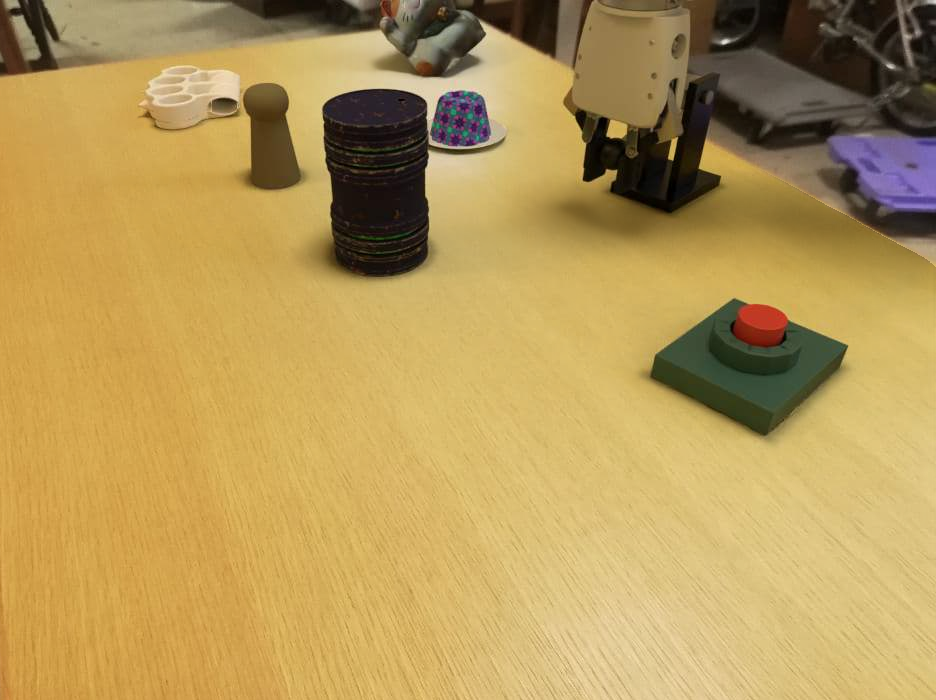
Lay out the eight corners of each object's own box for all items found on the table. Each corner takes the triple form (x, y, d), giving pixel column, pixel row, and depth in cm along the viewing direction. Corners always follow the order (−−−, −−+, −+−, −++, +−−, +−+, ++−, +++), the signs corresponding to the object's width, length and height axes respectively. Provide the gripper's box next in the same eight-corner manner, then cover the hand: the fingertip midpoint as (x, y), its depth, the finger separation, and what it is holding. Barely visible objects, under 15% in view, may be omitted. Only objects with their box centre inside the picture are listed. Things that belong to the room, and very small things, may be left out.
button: (767, 354, 60) (773, 335, 59) (723, 334, 62) (729, 316, 61) (790, 335, 61) (796, 316, 60) (747, 316, 64) (753, 298, 62)
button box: (765, 435, 58) (781, 393, 56) (650, 376, 64) (659, 335, 61) (839, 367, 64) (856, 326, 61) (728, 318, 70) (739, 279, 67)
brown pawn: (310, 173, 97) (301, 81, 89) (281, 192, 93) (268, 98, 86) (271, 164, 99) (259, 74, 92) (241, 182, 95) (226, 90, 88)
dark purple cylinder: (362, 287, 76) (352, 135, 66) (317, 246, 82) (302, 102, 73) (448, 258, 79) (450, 110, 70) (398, 221, 86) (394, 81, 76)
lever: (618, 180, 80) (617, 153, 77) (592, 171, 82) (590, 145, 79) (704, 101, 84) (706, 73, 82) (678, 94, 86) (679, 67, 83)
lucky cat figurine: (435, 83, 121) (391, -6, 115) (397, 95, 131) (354, 14, 125) (501, 33, 125) (461, -54, 119) (459, 49, 135) (420, -31, 129)
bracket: (670, 213, 86) (695, 94, 77) (609, 191, 90) (627, 76, 82) (719, 185, 91) (747, 70, 82) (659, 166, 95) (680, 55, 87)
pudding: (524, 134, 104) (527, 94, 101) (466, 162, 98) (467, 120, 94) (455, 114, 111) (455, 75, 107) (396, 139, 104) (395, 99, 101)
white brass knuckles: (240, 124, 110) (134, 133, 109) (242, 83, 124) (148, 90, 122) (237, 100, 108) (128, 108, 107) (239, 61, 122) (143, 68, 120)
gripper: (748, -3, 67) (699, 197, 79) (591, -31, 77) (568, 151, 89) (700, 14, 63) (656, 221, 75) (542, -18, 73) (525, 171, 85)
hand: (609, 182), depth 82 cm, fingers closed on lever, 3 cm apart
